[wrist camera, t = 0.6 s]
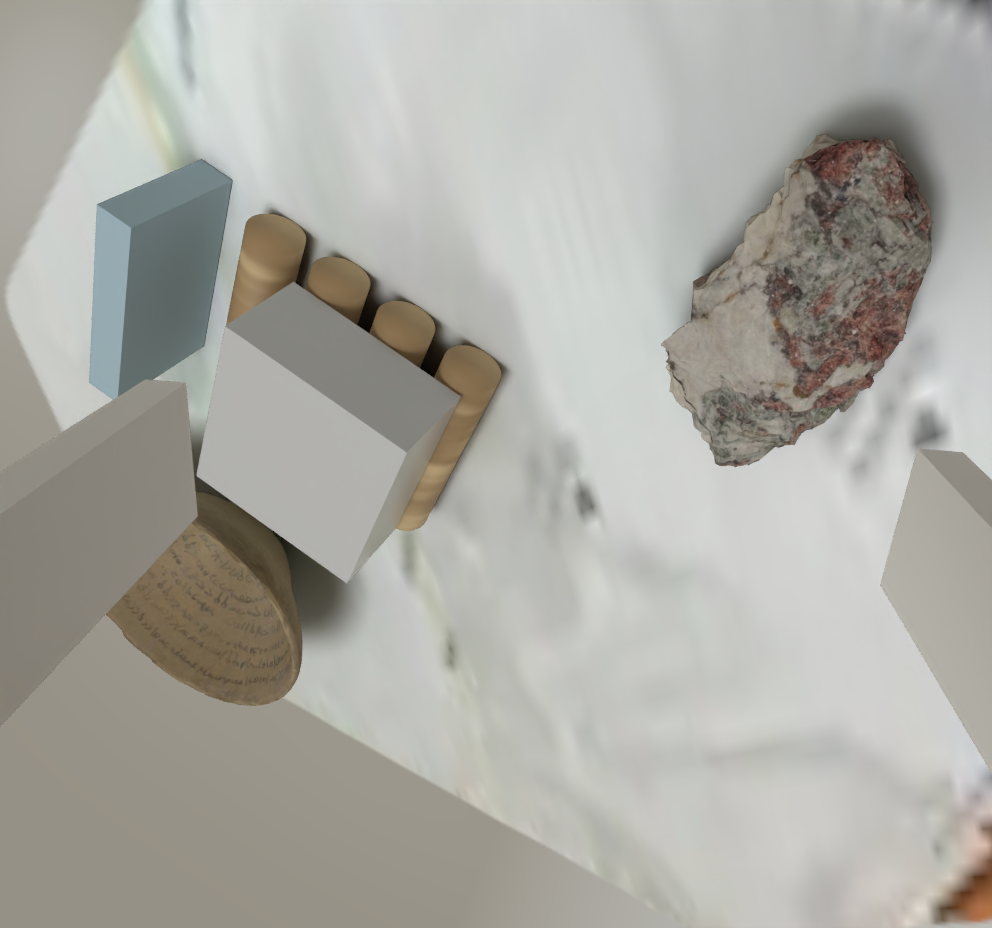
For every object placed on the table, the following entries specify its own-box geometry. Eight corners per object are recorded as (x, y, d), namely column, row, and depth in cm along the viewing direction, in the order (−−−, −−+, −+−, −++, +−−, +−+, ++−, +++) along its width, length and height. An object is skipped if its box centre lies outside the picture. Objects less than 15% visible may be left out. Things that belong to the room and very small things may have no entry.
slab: (293, 281, 42) (225, 325, 38) (461, 396, 41) (407, 452, 38) (256, 427, 50) (196, 475, 46) (396, 526, 49) (347, 583, 45)
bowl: (310, 434, 53) (223, 510, 47) (390, 650, 62) (325, 735, 57) (112, 417, 62) (19, 479, 56) (208, 608, 71) (136, 678, 66)
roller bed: (271, 206, 44) (232, 227, 42) (511, 369, 43) (484, 399, 41) (236, 369, 53) (202, 392, 51) (436, 509, 51) (410, 539, 49)
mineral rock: (763, 466, 40) (740, 523, 37) (625, 361, 40) (591, 409, 37) (1040, 219, 30) (1041, 269, 26) (853, 79, 30) (833, 112, 26)
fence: (201, 159, 45) (96, 204, 40) (232, 180, 44) (131, 227, 39) (178, 328, 53) (89, 382, 48) (203, 346, 53) (117, 402, 48)
